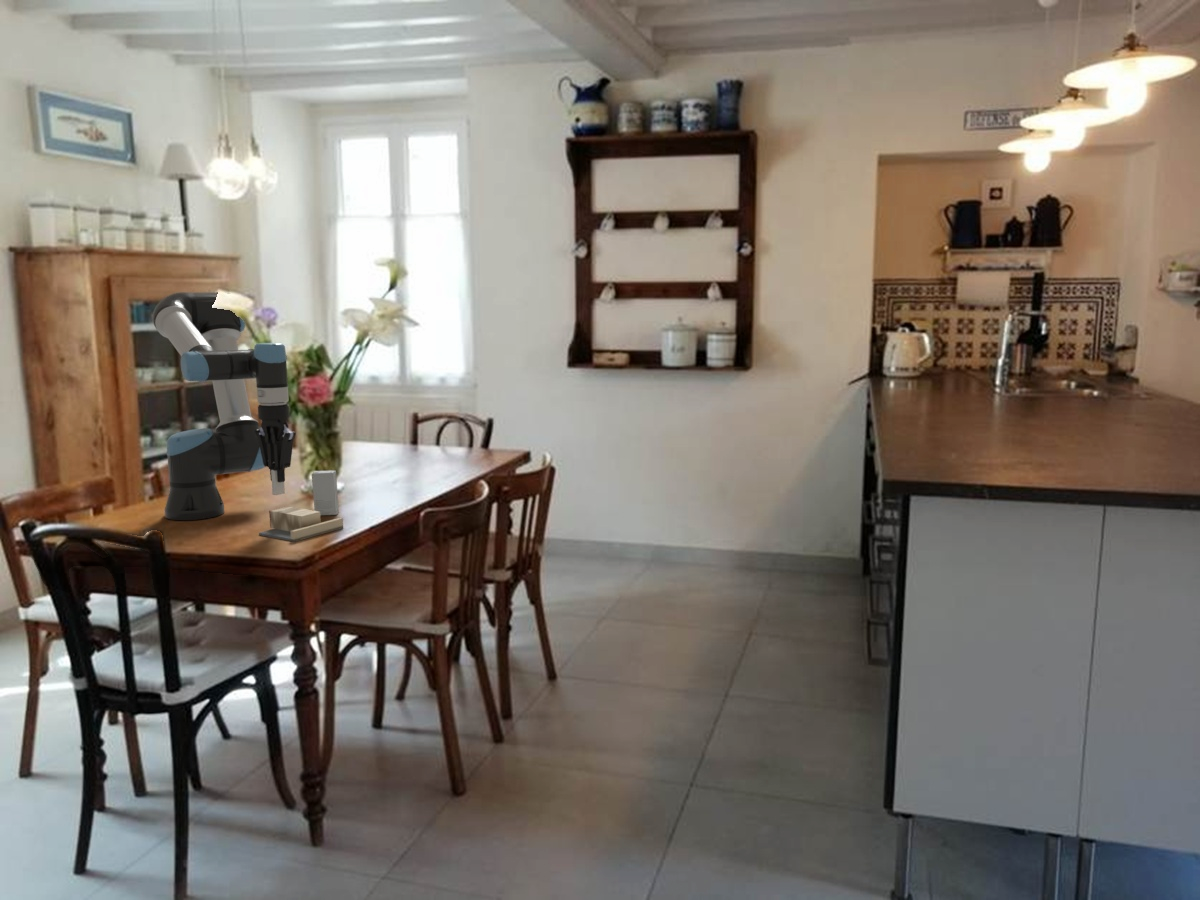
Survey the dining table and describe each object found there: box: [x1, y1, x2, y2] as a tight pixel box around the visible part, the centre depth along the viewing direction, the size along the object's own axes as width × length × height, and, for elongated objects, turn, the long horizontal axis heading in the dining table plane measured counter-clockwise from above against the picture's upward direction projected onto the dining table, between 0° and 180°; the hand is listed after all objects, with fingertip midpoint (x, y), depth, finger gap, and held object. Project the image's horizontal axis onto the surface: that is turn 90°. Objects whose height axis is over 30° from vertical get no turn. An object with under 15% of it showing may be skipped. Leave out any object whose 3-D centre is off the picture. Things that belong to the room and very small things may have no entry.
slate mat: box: [258, 517, 344, 543], centre depth 234 cm, size 13×16×3 cm
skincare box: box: [311, 470, 340, 516], centre depth 252 cm, size 6×4×12 cm
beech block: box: [268, 506, 322, 531], centre depth 234 cm, size 4×6×12 cm
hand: (278, 493), depth 236 cm, fingers closed
